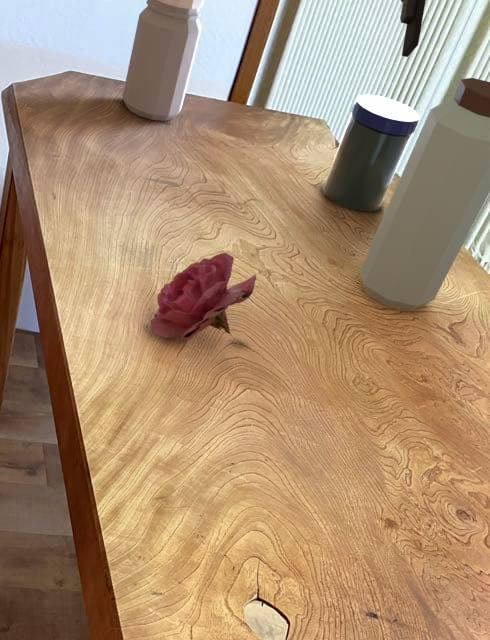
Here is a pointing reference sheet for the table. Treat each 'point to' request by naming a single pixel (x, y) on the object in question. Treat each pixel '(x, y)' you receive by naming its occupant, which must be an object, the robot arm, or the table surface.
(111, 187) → the table surface
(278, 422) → the table surface
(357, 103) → the lid
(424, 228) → the water bottle
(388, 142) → the spice jar
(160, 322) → the flower
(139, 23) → the jar
